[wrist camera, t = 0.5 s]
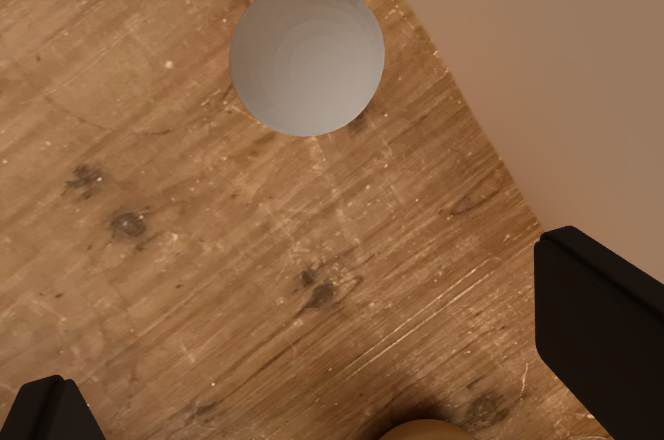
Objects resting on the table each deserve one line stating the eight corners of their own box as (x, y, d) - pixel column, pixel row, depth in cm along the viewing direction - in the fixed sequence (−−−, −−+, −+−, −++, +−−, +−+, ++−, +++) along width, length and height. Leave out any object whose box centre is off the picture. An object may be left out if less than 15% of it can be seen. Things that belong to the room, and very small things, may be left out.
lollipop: (291, -39, 30) (363, -62, 17) (338, 54, 33) (431, 99, 19) (199, 16, 30) (196, 38, 17) (253, 104, 33) (287, 184, 19)
